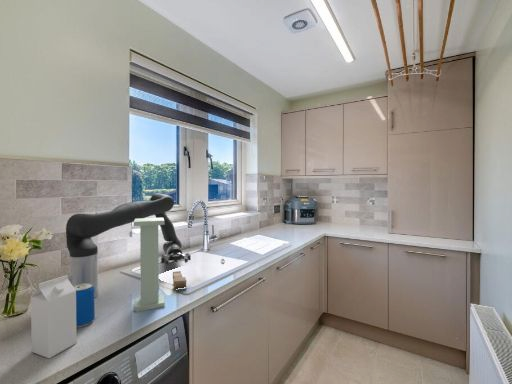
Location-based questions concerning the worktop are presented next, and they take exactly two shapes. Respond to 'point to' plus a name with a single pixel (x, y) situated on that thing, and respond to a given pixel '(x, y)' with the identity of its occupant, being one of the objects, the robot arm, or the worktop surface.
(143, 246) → the shelf stand
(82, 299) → the beverage can
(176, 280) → the walnut rail
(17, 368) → the worktop surface
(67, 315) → the milk carton
